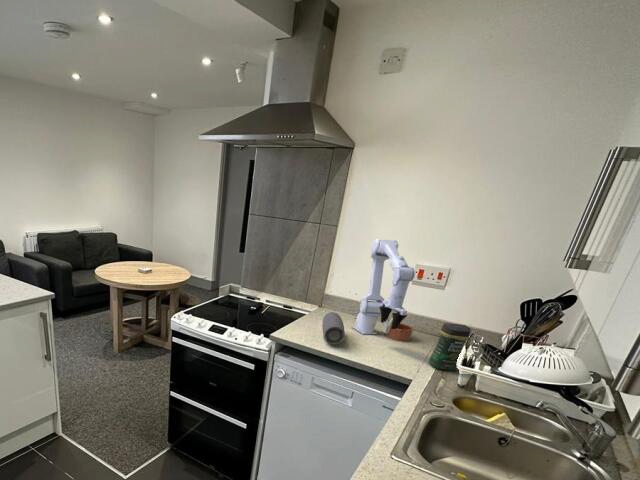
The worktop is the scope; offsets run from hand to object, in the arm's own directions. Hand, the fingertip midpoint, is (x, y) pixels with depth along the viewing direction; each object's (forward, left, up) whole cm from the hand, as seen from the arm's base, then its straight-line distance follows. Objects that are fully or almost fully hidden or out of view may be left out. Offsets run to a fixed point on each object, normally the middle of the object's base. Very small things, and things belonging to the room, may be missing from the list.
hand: (388, 325), depth 172 cm
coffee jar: (+20, +14, -11) cm, 27 cm away
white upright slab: (0, 0, -4) cm, 4 cm away
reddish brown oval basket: (-14, +18, -10) cm, 25 cm away
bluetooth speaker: (-10, -20, -11) cm, 25 cm away
